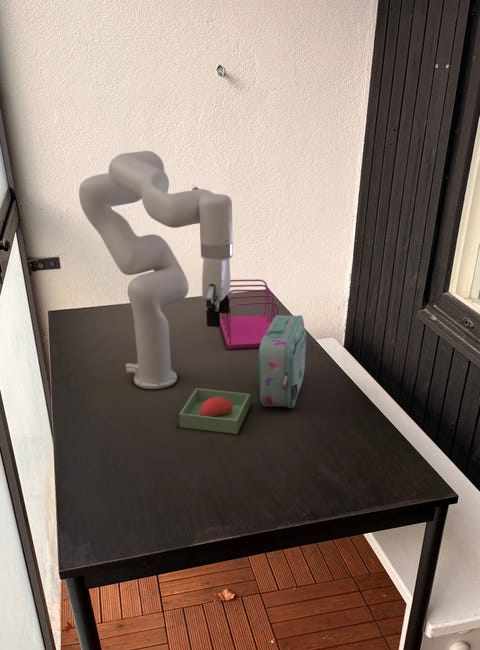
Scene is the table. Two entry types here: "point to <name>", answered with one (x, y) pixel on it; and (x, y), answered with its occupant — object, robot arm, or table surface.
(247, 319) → the file sorter
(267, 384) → the lunch box
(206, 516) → the table surface
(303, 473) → the table surface
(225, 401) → the red oval piece
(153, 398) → the table surface
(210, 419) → the tote
